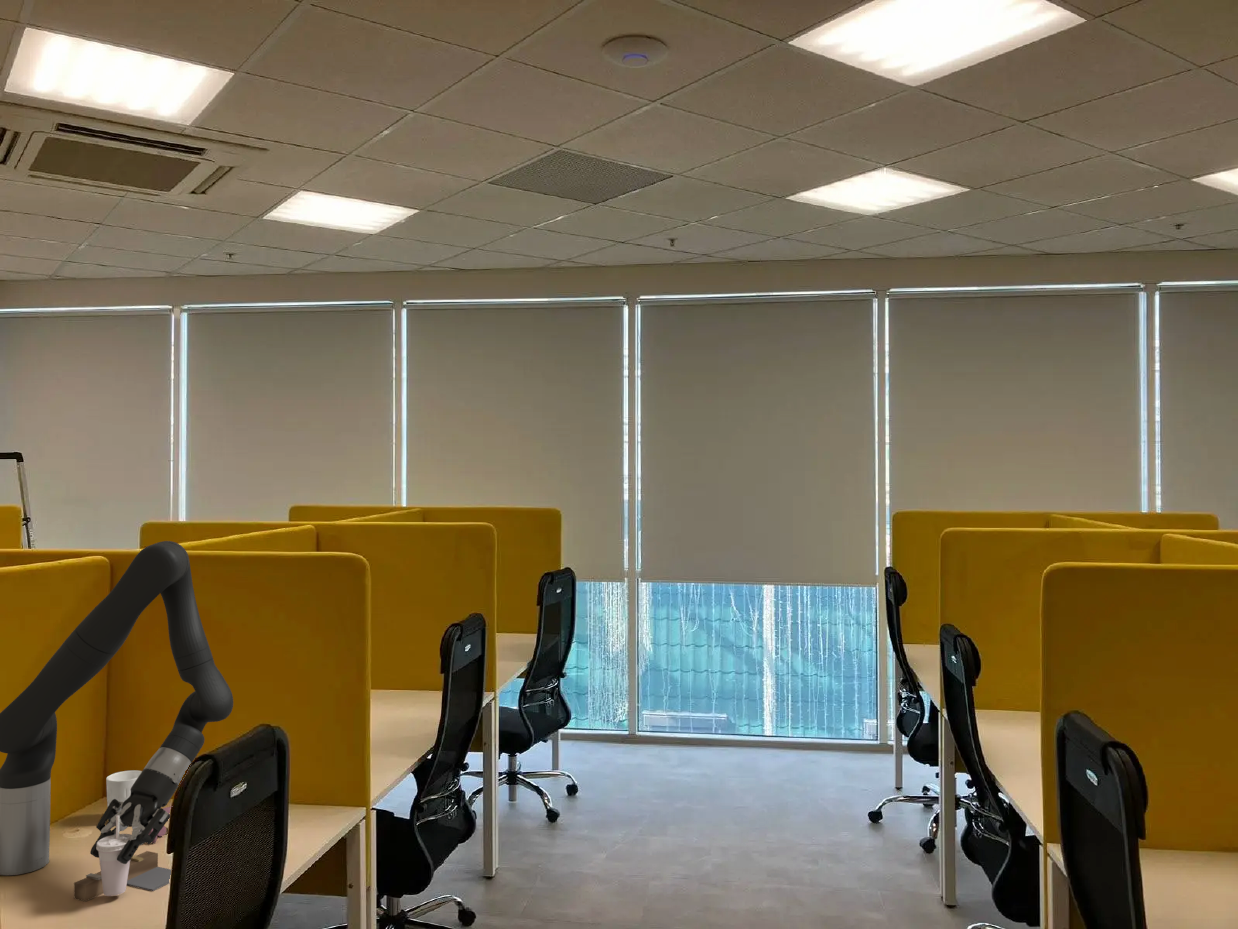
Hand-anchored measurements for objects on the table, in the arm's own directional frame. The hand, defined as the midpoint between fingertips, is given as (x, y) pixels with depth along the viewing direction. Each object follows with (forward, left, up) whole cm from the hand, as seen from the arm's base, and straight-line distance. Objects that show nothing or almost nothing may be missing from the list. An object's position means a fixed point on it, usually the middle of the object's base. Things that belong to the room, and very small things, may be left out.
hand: (107, 858), depth 169 cm
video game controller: (-16, +28, -8) cm, 34 cm away
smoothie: (0, +2, -7) cm, 7 cm away
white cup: (-34, +32, -8) cm, 47 cm away
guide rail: (-5, +7, -8) cm, 12 cm away
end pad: (0, +11, -8) cm, 13 cm away
